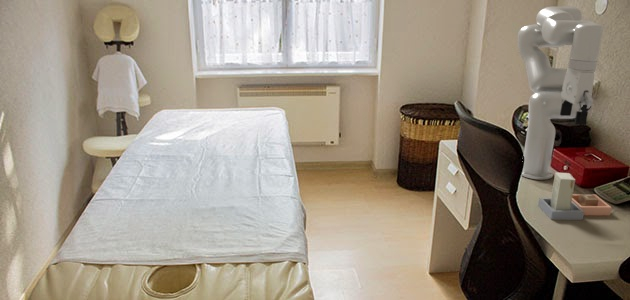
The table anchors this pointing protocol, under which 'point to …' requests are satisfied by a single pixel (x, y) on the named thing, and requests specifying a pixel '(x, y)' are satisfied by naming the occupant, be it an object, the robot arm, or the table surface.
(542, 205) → the bin grey
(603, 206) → the bin terracotta
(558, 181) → the skincare box
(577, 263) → the table surface
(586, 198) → the letter cube
